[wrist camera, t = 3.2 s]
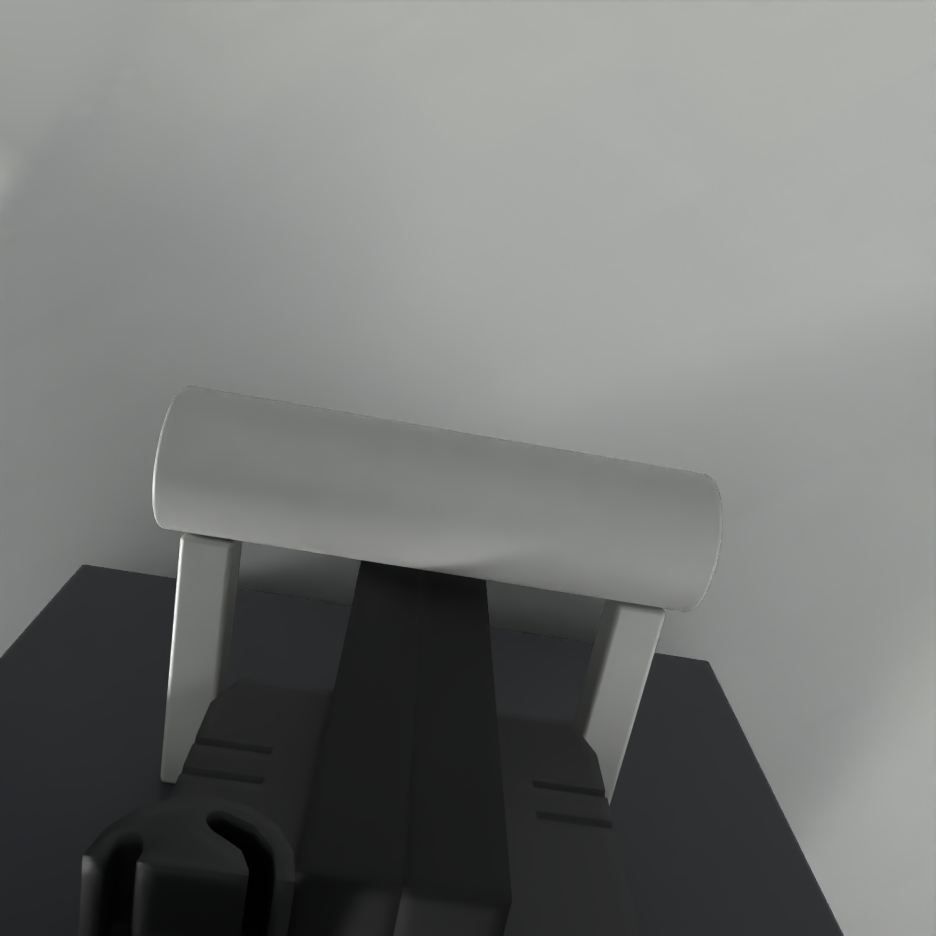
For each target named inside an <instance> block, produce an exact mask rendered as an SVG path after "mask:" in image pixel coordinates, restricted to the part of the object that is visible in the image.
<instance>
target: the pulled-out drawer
mask: <svg viewBox="0 0 936 936" xmlns="http://www.w3.org/2000/svg"><path fill="white" fill-rule="evenodd" d="M152 502H153V511H154V516H155V520H156V522H157V524H158V525H159V526H160V527H162V528H163V529H170V530H176V531H182V532H184V534H183V535H182V537H181V538H180V548H179V560H178V572H177V579H175V578H168V577H162V576H155V575H149V574H142V573H136V572H130V571H123V570H117V569H110V568H104V567H97V566H91V565H82V566H81V567H80V568H79V569H78V570H77V571H76V573H75V574H74V575H73V576H72V577H71V578H70V579H69V581H68V582H67V583H66V584H65V585H64V586H63V587H62V589H61V590H60V591H59V592H58V593H57V594H56V595H55V596H54V598H53V599H52V600H51V601H50V602H49V603H48V604H47V606H46V607H45V608H44V609H43V610H42V611H41V612H40V614H39V615H38V616H37V617H36V618H35V619H34V620H33V622H32V623H31V624H30V625H29V626H28V627H27V628H26V629H25V631H24V632H23V633H22V634H21V635H20V636H19V637H18V639H17V640H16V641H15V642H14V643H13V644H12V645H11V647H10V648H9V649H8V650H7V651H6V652H5V653H4V655H3V656H2V657H1V658H0V936H79V919H80V899H81V880H82V860H83V854H84V853H85V852H86V850H87V849H88V848H89V847H90V846H91V844H92V843H93V842H94V841H95V839H96V838H97V837H98V836H99V834H100V833H101V832H102V831H103V830H104V828H105V827H106V826H108V825H110V824H111V823H113V822H115V821H116V820H118V819H120V818H121V817H123V816H125V815H126V814H128V813H130V812H131V811H133V810H135V809H136V808H138V807H140V806H144V805H148V804H152V803H155V802H159V801H163V800H166V799H169V797H170V795H171V793H172V790H173V788H174V786H175V783H176V781H177V779H178V776H179V774H181V773H182V769H183V765H184V763H185V760H186V758H187V756H188V753H189V751H190V749H191V746H192V744H194V742H195V738H196V735H197V732H198V730H199V728H200V725H201V723H202V721H203V718H204V716H205V714H206V712H207V709H208V707H209V705H210V702H211V701H213V700H214V699H215V698H216V697H218V696H219V695H220V694H221V693H223V692H224V691H225V690H226V689H228V688H229V687H230V686H231V685H233V684H234V683H235V682H236V681H238V680H239V679H240V678H241V677H243V676H244V677H251V678H258V679H264V680H271V681H278V682H285V683H292V684H299V685H306V686H312V687H319V688H326V689H333V690H334V686H335V681H336V677H337V672H338V667H339V663H340V658H341V653H342V649H343V644H344V639H345V635H346V630H347V625H348V621H349V616H350V611H351V607H352V606H349V605H342V604H336V603H330V602H323V601H317V600H310V599H304V598H297V597H291V596H284V595H278V594H271V593H265V592H259V591H252V590H246V589H239V588H237V584H238V575H239V566H240V556H241V547H242V541H245V542H251V543H258V544H264V545H270V546H276V547H283V548H289V549H295V550H302V551H308V552H314V553H320V554H327V555H333V556H339V557H346V558H352V559H358V560H364V561H371V562H377V563H383V564H390V565H396V566H402V567H408V568H415V569H421V570H427V571H434V572H440V573H446V574H452V575H459V576H465V577H471V578H478V579H484V580H490V581H496V582H503V583H509V584H515V585H522V586H528V587H534V588H540V589H547V590H553V591H559V592H566V593H572V594H578V595H584V596H591V597H597V598H603V599H606V601H605V604H604V608H603V612H602V616H601V620H600V623H599V627H598V631H597V635H596V638H595V642H594V643H588V642H581V641H575V640H568V639H562V638H555V637H549V636H542V635H536V634H530V633H523V632H517V631H510V630H504V629H497V628H491V627H490V638H491V650H492V662H493V674H494V687H495V699H496V710H500V711H507V712H514V713H521V714H527V715H534V716H541V717H548V718H555V719H562V720H569V721H571V722H572V723H573V725H574V726H575V727H576V728H577V730H578V731H579V732H580V733H581V735H582V736H583V737H584V739H585V740H586V741H587V742H588V744H589V745H590V746H591V747H592V749H593V750H594V751H595V753H596V754H597V757H598V762H599V766H600V770H601V774H602V778H603V782H604V786H605V798H607V799H608V803H609V807H610V811H611V815H612V819H613V824H612V829H615V832H616V836H617V840H618V844H619V848H620V852H621V856H622V861H623V865H624V869H625V873H626V877H627V881H628V885H629V889H630V894H631V898H632V902H633V906H634V910H635V914H636V918H637V922H638V927H639V931H640V935H641V936H844V935H843V933H842V931H841V929H840V927H839V925H838V923H837V921H836V919H835V917H834V915H833V913H832V911H831V909H830V907H829V905H828V903H827V901H826V899H825V897H824V895H823V893H822V891H821V889H820V887H819V885H818V883H817V881H816V879H815V877H814V875H813V872H812V870H811V868H810V866H809V864H808V862H807V860H806V858H805V856H804V854H803V852H802V850H801V848H800V846H799V844H798V842H797V840H796V838H795V836H794V834H793V832H792V830H791V828H790V826H789V824H788V822H787V820H786V818H785V816H784V814H783V812H782V810H781V808H780V806H779V804H778V802H777V800H776V797H775V795H774V793H773V791H772V789H771V787H770V785H769V783H768V781H767V779H766V777H765V775H764V773H763V771H762V769H761V767H760V765H759V763H758V761H757V759H756V757H755V755H754V753H753V751H752V749H751V747H750V745H749V743H748V741H747V739H746V737H745V735H744V733H743V731H742V729H741V727H740V725H739V722H738V720H737V718H736V716H735V714H734V712H733V710H732V708H731V706H730V704H729V702H728V700H727V698H726V696H725V694H724V692H723V690H722V688H721V686H720V684H719V682H718V680H717V678H716V676H715V674H714V672H713V670H712V668H711V666H710V664H709V662H707V661H704V660H697V659H691V658H684V657H678V656H671V655H665V654H659V653H654V652H655V649H656V645H657V642H658V639H659V635H660V632H661V628H662V625H663V622H664V618H665V611H664V609H663V608H666V609H672V610H679V611H689V610H692V609H694V608H695V607H696V606H698V605H699V603H700V602H701V601H702V599H703V598H704V596H705V594H706V592H707V590H708V588H709V586H710V583H711V581H712V578H713V575H714V572H715V568H716V565H717V560H718V556H719V550H720V544H721V535H722V506H721V498H720V494H719V490H718V487H717V485H716V483H715V481H714V480H713V479H712V478H711V477H709V476H708V475H706V474H700V473H694V472H688V471H683V470H677V469H671V468H665V467H659V466H653V465H648V464H642V463H636V462H630V461H624V460H618V459H613V458H607V457H601V456H595V455H589V454H584V453H578V452H572V451H566V450H560V449H554V448H549V447H543V446H537V445H531V444H525V443H519V442H514V441H508V440H502V439H496V438H490V437H485V436H479V435H473V434H467V433H461V432H455V431H450V430H444V429H438V428H432V427H426V426H420V425H415V424H409V423H403V422H397V421H391V420H386V419H380V418H374V417H368V416H362V415H356V414H351V413H345V412H339V411H333V410H327V409H321V408H316V407H310V406H304V405H298V404H292V403H286V402H281V401H275V400H269V399H263V398H257V397H252V396H246V395H240V394H234V393H228V392H222V391H217V390H211V389H205V388H199V387H193V386H186V387H183V388H182V389H180V390H179V392H178V393H177V394H176V396H175V397H174V399H173V401H172V403H171V405H170V407H169V410H168V412H167V415H166V417H165V420H164V423H163V427H162V430H161V434H160V438H159V442H158V447H157V452H156V457H155V464H154V471H153V484H152Z"/></svg>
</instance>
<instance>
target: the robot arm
mask: <svg viewBox="0 0 936 936" xmlns="http://www.w3.org/2000/svg"><path fill="white" fill-rule="evenodd" d="M612 824H613V819H612V815H611V811H610V807H609V803H608V799H607V798H605V786H604V782H603V778H602V774H601V770H600V766H599V762H598V757H597V754H596V753H595V751H594V750H593V749H592V747H591V746H590V745H589V744H588V742H587V741H586V740H585V739H584V737H583V736H582V735H581V733H580V732H579V731H578V730H577V728H576V727H575V726H574V725H573V723H572V722H571V721H569V720H562V719H555V718H548V717H541V716H534V715H527V714H521V713H514V712H507V711H500V710H496V699H495V687H494V674H493V662H492V650H491V638H490V626H489V614H488V602H487V590H486V580H484V579H478V578H471V577H465V576H459V575H452V574H446V573H440V572H434V571H427V570H421V569H415V568H408V567H402V566H396V565H390V564H383V563H377V562H371V561H364V560H361V565H360V569H359V574H358V579H357V583H356V588H355V593H354V597H353V602H352V607H351V611H350V616H349V621H348V625H347V630H346V635H345V639H344V644H343V649H342V653H341V658H340V663H339V667H338V672H337V677H336V681H335V686H334V690H333V689H326V688H319V687H312V686H306V685H299V684H292V683H285V682H278V681H271V680H264V679H258V678H251V677H244V676H243V677H241V678H240V679H239V680H238V681H236V682H235V683H234V684H233V685H231V686H230V687H229V688H228V689H226V690H225V691H224V692H223V693H221V694H220V695H219V696H218V697H216V698H215V699H214V700H213V701H211V702H210V705H209V707H208V709H207V712H206V714H205V716H204V718H203V721H202V723H201V725H200V728H199V730H198V732H197V735H196V738H195V742H194V744H192V746H191V749H190V751H189V753H188V756H187V758H186V760H185V763H184V765H183V769H182V773H181V774H179V776H178V779H177V781H176V783H175V786H174V788H173V790H172V793H171V795H170V797H169V799H166V800H163V801H159V802H155V803H152V804H148V805H144V806H140V807H138V808H136V809H135V810H133V811H131V812H130V813H128V814H126V815H125V816H123V817H121V818H120V819H118V820H116V821H115V822H113V823H111V824H110V825H108V826H106V827H105V828H104V830H103V831H102V832H101V833H100V834H99V836H98V837H97V838H96V839H95V841H94V842H93V843H92V844H91V846H90V847H89V848H88V849H87V850H86V852H85V853H84V854H83V860H82V880H81V899H80V919H79V936H641V935H640V931H639V927H638V922H637V918H636V914H635V910H634V906H633V902H632V898H631V894H630V889H629V885H628V881H627V877H626V873H625V869H624V865H623V861H622V856H621V852H620V848H619V844H618V840H617V836H616V832H615V829H612Z"/></svg>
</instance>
